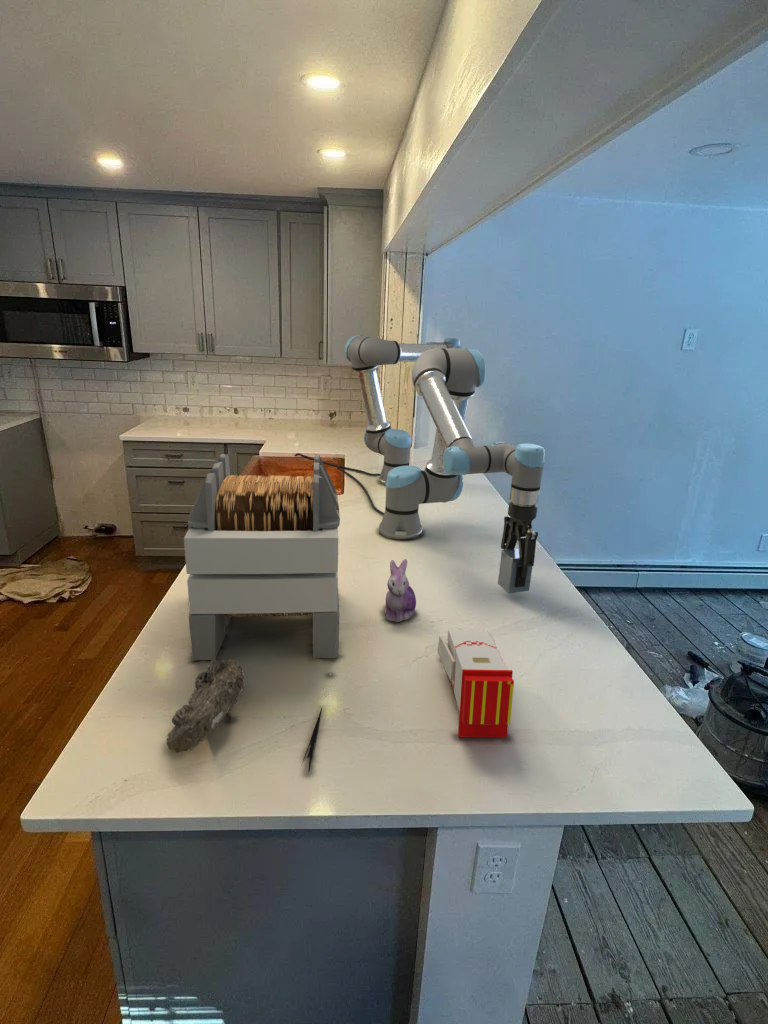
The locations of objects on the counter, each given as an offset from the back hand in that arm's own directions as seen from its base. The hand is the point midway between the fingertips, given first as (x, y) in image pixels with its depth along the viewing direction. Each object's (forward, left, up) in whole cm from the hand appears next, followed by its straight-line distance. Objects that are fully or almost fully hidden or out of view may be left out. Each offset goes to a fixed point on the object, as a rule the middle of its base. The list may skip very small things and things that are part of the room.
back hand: (446, 415), depth 280 cm
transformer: (+22, -165, -26) cm, 169 cm away
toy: (+75, -165, -26) cm, 183 cm away
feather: (+53, -188, -26) cm, 197 cm away
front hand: (+70, -118, -22) cm, 139 cm away
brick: (+70, -118, -24) cm, 139 cm away
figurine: (+48, -144, -26) cm, 154 cm away
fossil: (+35, -198, -26) cm, 203 cm away
